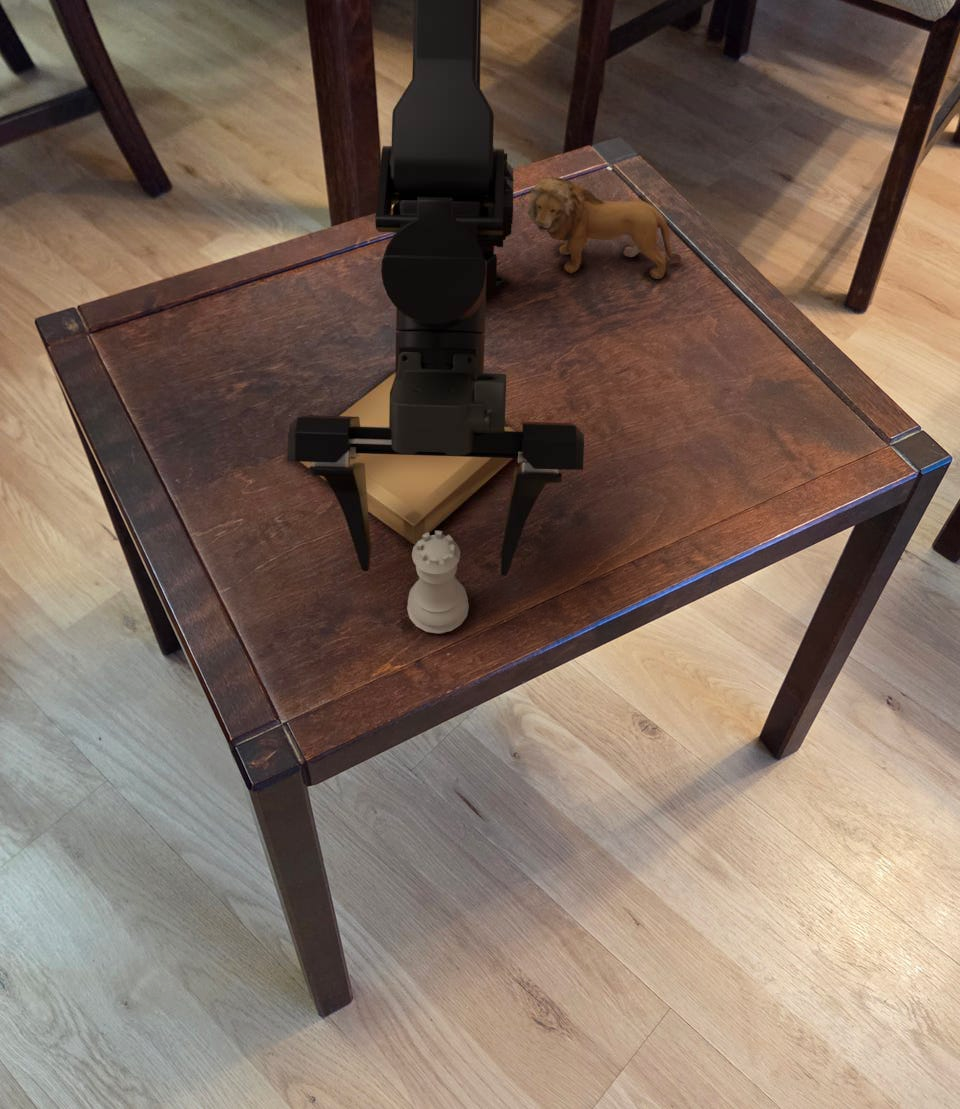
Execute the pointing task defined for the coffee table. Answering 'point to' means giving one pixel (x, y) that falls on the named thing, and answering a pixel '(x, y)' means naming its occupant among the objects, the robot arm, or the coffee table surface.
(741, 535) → the coffee table surface
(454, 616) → the rook chess piece
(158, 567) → the coffee table surface
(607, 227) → the lion figurine
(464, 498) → the corner guide
